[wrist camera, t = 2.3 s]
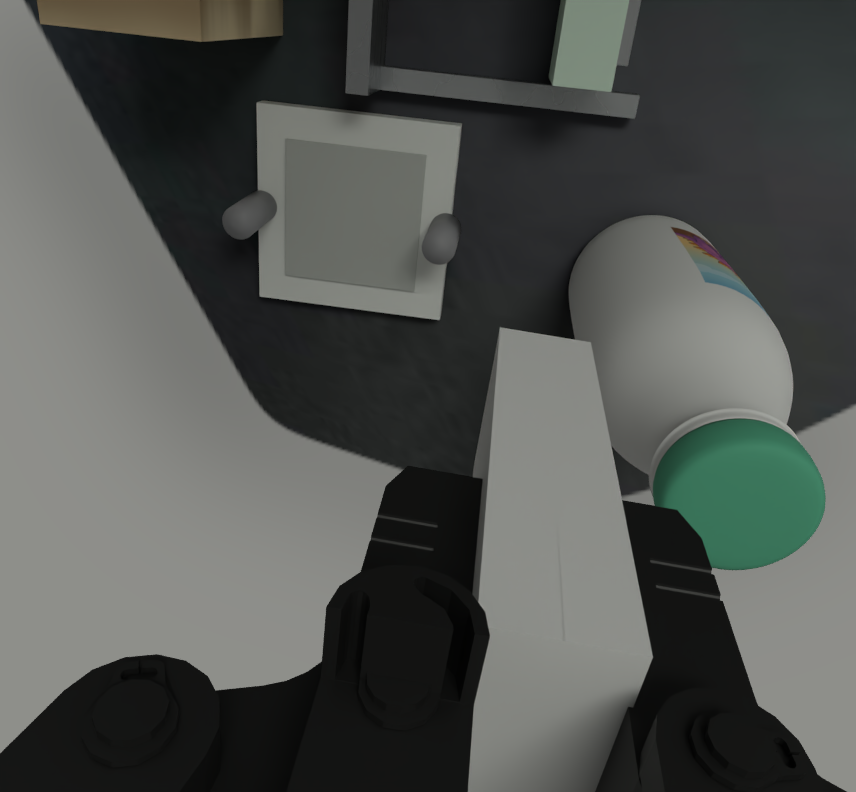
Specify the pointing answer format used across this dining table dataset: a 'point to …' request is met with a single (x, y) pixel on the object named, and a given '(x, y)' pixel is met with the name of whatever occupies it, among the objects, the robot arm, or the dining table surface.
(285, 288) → the seat plate
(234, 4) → the block
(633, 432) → the milk bottle
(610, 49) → the cover
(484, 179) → the dining table surface
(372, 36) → the housing frame
